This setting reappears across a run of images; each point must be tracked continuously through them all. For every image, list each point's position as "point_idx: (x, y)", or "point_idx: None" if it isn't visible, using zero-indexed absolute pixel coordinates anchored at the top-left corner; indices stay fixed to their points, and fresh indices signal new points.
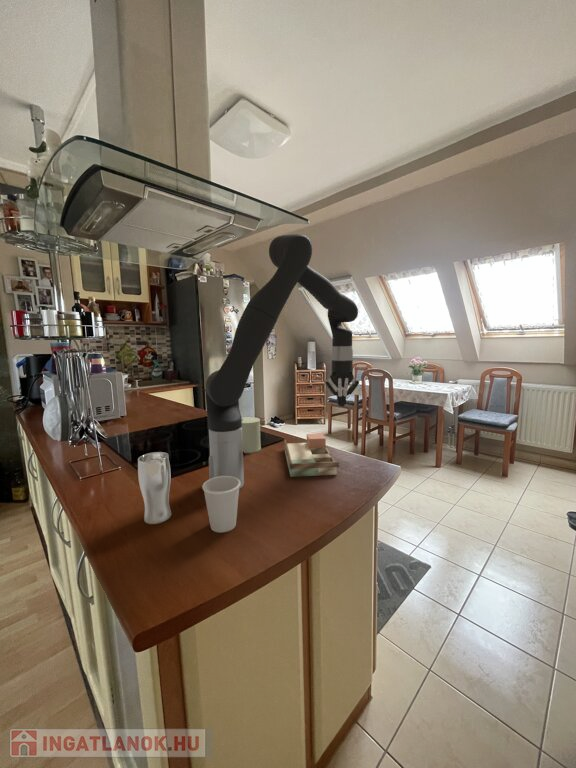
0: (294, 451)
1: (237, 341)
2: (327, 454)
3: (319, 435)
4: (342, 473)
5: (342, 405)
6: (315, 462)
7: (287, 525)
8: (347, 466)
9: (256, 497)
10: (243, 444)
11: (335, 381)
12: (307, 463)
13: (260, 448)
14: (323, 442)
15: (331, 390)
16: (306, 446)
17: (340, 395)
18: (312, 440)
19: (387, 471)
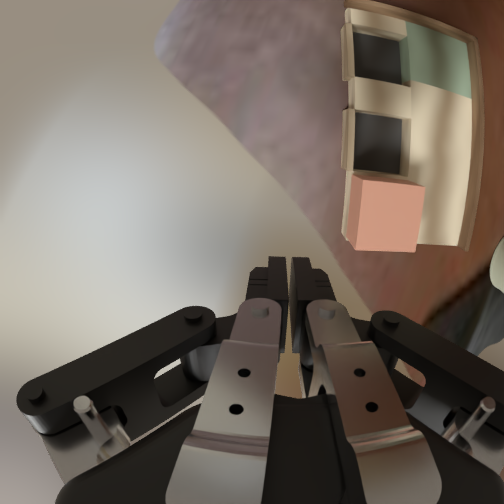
0: (454, 164)
1: None
2: (361, 104)
3: (375, 226)
4: (325, 14)
5: (285, 261)
6: (418, 17)
7: None
8: (297, 54)
9: (497, 4)
10: None
11: (438, 456)
12: (439, 21)
13: (496, 252)
14: (366, 178)
15: (443, 342)
16: None
17: (320, 303)
18: (411, 184)
19: (184, 16)
